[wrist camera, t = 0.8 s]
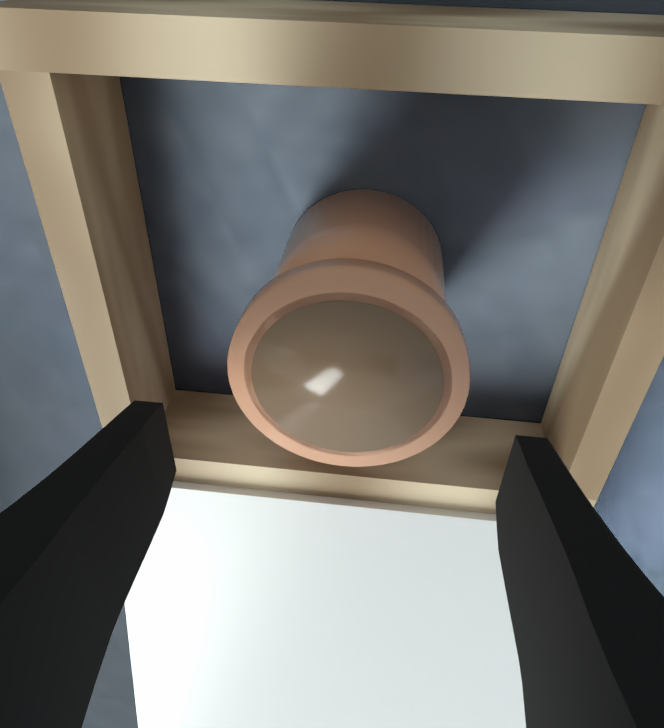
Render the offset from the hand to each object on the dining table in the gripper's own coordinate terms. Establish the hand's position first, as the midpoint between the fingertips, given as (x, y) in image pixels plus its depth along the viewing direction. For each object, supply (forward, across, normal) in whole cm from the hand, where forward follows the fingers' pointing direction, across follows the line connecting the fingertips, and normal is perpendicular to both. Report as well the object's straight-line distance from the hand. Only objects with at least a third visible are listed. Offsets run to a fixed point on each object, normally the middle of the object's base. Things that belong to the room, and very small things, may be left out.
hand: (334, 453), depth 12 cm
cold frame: (+8, 0, +7) cm, 11 cm away
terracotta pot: (+8, 0, 0) cm, 8 cm away
